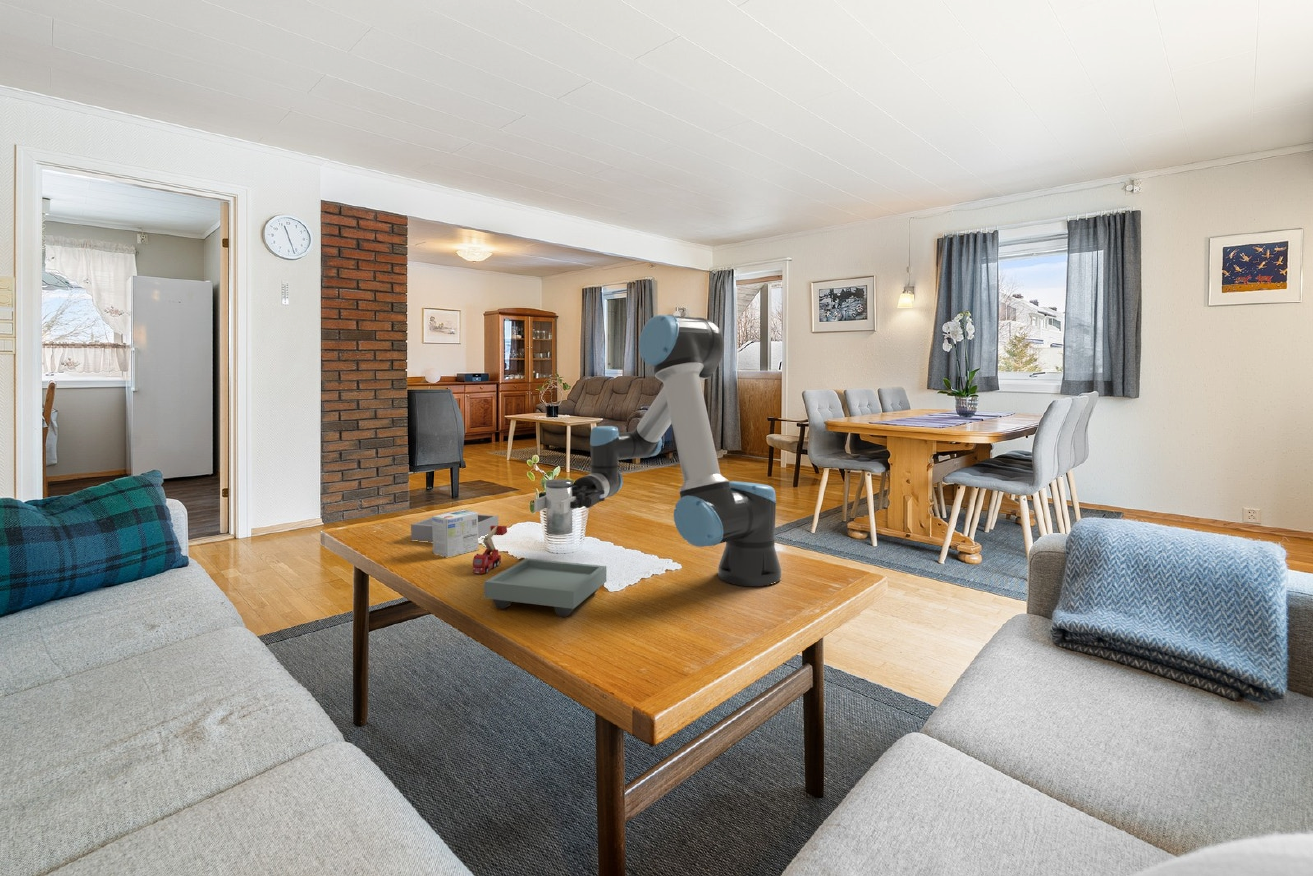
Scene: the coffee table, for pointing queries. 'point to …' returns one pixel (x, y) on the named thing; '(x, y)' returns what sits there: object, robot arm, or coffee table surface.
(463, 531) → the light bulb box
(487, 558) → the toy fire truck
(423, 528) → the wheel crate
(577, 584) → the dolly
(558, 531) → the canister
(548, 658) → the coffee table surface
